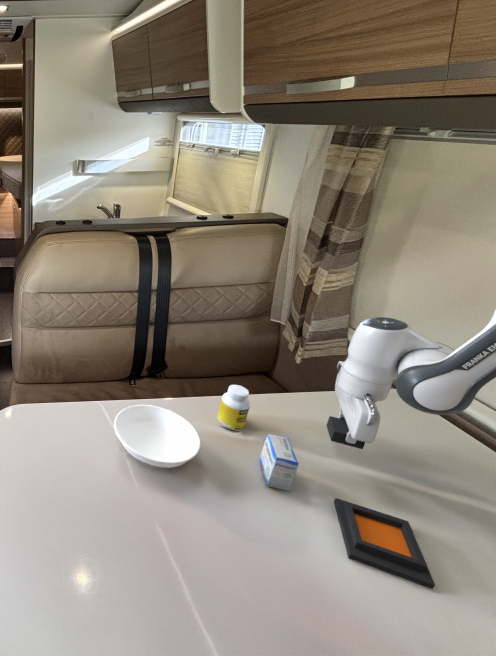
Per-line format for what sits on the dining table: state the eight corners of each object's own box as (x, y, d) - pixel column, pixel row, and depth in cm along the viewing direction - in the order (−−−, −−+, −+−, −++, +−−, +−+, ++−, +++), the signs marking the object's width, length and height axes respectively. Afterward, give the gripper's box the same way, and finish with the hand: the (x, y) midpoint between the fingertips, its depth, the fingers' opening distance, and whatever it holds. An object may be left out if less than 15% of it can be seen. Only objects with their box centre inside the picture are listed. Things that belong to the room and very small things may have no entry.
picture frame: (406, 525, 87) (411, 515, 86) (432, 589, 76) (438, 579, 75) (333, 501, 93) (337, 492, 92) (348, 558, 81) (352, 548, 80)
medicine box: (258, 460, 103) (266, 432, 100) (279, 465, 102) (288, 437, 99) (266, 486, 96) (275, 457, 93) (289, 492, 95) (299, 462, 92)
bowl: (207, 488, 96) (212, 467, 94) (116, 478, 99) (119, 457, 97) (183, 427, 114) (187, 408, 112) (107, 419, 117) (109, 401, 115)
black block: (356, 433, 104) (360, 423, 103) (362, 449, 99) (366, 439, 98) (326, 425, 107) (329, 415, 106) (330, 441, 102) (334, 431, 101)
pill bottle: (229, 436, 111) (238, 400, 106) (210, 419, 117) (218, 384, 112) (249, 431, 112) (259, 395, 108) (230, 415, 118) (238, 380, 114)
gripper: (395, 414, 87) (374, 466, 92) (369, 364, 104) (352, 410, 109) (356, 405, 90) (338, 456, 95) (337, 357, 107) (322, 402, 112)
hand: (346, 431), depth 102 cm, fingers closed on black block, 6 cm apart
